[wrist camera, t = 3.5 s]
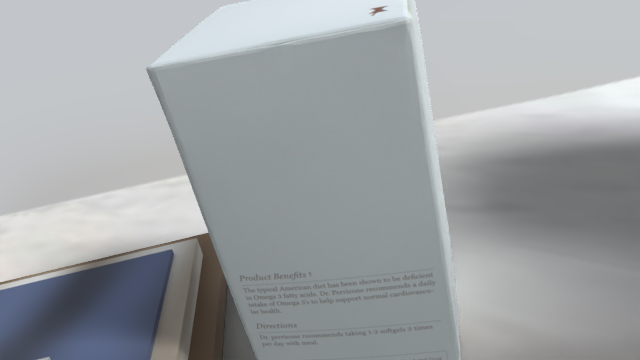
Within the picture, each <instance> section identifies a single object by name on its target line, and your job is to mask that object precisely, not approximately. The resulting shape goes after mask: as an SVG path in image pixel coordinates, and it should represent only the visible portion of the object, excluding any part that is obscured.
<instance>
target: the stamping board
mask: <svg viewBox="0 0 640 360" xmlns="http://www.w3.org/2000/svg"><path fill="white" fill-rule="evenodd" d="M226 296H227V281H226V278H225V275H224V273H223V270H222V267H221V264H220V262H219V259H218V256H217V254H216V251H215V248H214V246H213V243H212V240H211V237H210V235H209V233H206V234H202V235H197V236H193V237H189V238H185V239H181V240H176V241H172V242H168V243H164V244H160V245H155V246H151V247H147V248H143V249H139V250H135V251H130V252H126V253H122V254H118V255H114V256H109V257H105V258H101V259H97V260H93V261H88V262H84V263H80V264H76V265H72V266H67V267H63V268H59V269H55V270H51V271H46V272H42V273H38V274H34V275H30V276H25V277H21V278H17V279H13V280H9V281H4V282H0V360H38V359H42V358H46V357H49V358H50V359H51V360H222V352H223V338H224V324H225V310H226Z"/></svg>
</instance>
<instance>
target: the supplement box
mask: <svg viewBox="0 0 640 360" xmlns="http://www.w3.org/2000/svg"><path fill="white" fill-rule="evenodd" d="M147 73H148V75H149V78H150V80H151V82H152V85H153V87H154V89H155V92H156V94H157V97H158V99H159V101H160V104H161V106H162V109H163V111H164V114H165V116H166V119H167V122H168V124H169V127H170V129H171V132H172V134H173V137H174V140H175V143H176V145H177V147H178V151H179V153H180V156H181V158H182V161H183V164H184V167H185V170H186V172H187V175H188V178H189V180H190V183H191V186H192V189H193V191H194V194H195V197H196V199H197V202H198V205H199V208H200V210H201V213H202V216H203V219H204V221H205V224H206V226H207V229H208V232H209V235H210V237H211V240H212V243H213V246H214V248H215V251H216V254H217V256H218V259H219V262H220V264H221V267H222V270H223V273H224V275H225V278H226V281H227V284H228V286H229V289H230V291H231V294H232V297H233V299H234V302H235V305H236V308H237V311H238V313H239V316H240V319H241V321H242V324H243V327H244V329H245V332H246V334H247V337H248V339H249V341H250V344H251V347H252V349H253V352H254V355H255V357H256V360H461V347H460V333H459V318H458V305H457V293H456V282H455V272H454V264H453V256H452V249H451V241H450V234H449V227H448V221H447V214H446V208H445V201H444V194H443V186H442V179H441V172H440V165H439V158H438V151H437V144H436V136H435V129H434V122H433V116H432V108H431V102H430V95H429V88H428V81H427V74H426V67H425V60H424V53H423V46H422V39H421V33H420V27H419V21H418V15H417V10H416V5H415V0H251V1H246V2H241V3H236V4H231V5H225V6H222V7H221V8H219V9H218V10H216V11H215V12H214V13H212V14H211V15H210V16H209V17H207V18H206V19H205V20H203V21H202V22H201V23H200V24H198V25H197V26H196V27H195V28H193V29H192V30H191V31H190V32H189V33H187V34H186V35H185V36H184V37H183V38H181V39H180V40H179V41H178V42H177V43H176V44H174V45H173V46H172V47H171V48H169V49H168V50H167V51H166V52H165V53H164V54H162V55H161V56H160V57H159V58H158V59H156V60H155V61H154V62H153V63H152V64H150V65H149V66H147Z"/></svg>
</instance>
